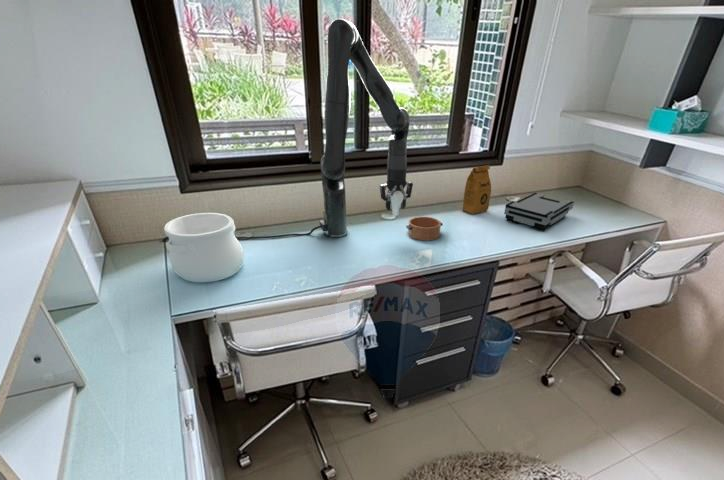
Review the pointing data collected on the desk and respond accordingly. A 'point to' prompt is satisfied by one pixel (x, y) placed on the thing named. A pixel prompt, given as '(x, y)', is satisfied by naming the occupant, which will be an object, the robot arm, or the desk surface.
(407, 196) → the robot arm
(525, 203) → the game console
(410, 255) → the desk surface
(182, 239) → the pot
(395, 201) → the lightbulb
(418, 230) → the copper pot
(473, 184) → the coffee package
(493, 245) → the desk surface
